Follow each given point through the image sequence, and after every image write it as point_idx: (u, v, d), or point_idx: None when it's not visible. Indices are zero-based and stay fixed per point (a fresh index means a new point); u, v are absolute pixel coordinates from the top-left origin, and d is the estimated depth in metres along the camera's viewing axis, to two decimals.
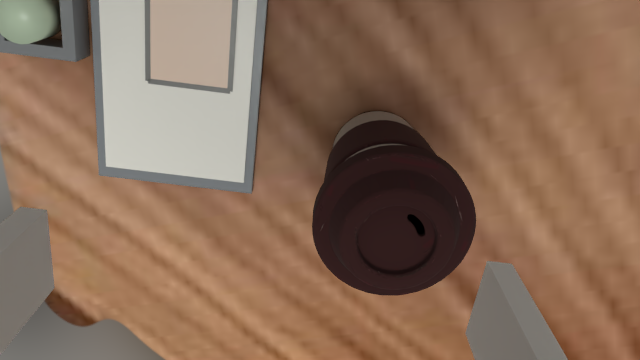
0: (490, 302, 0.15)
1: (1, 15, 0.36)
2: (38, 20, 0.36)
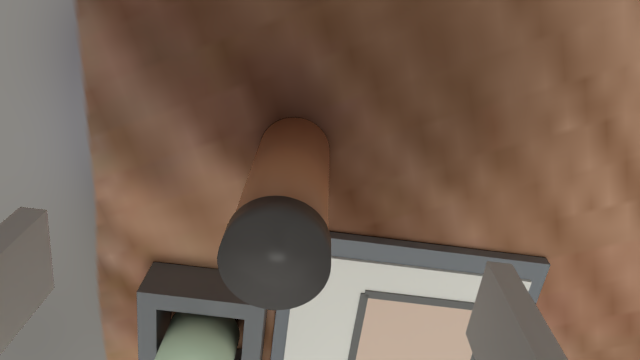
0: (490, 302, 0.15)
1: None
2: None
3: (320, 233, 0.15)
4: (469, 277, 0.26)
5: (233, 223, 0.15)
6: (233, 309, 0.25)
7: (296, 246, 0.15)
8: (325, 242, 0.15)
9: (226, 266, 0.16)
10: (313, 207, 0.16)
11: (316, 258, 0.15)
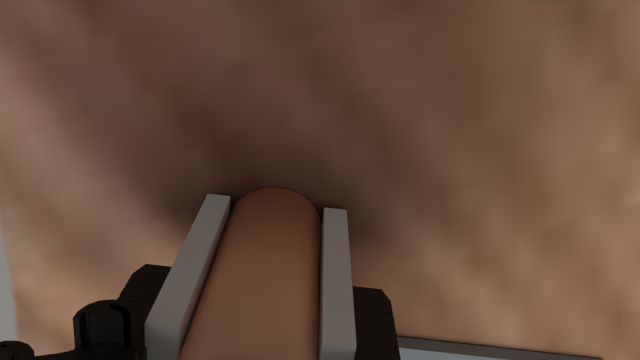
0: (321, 242, 0.17)
1: None
2: None
3: None
4: None
5: None
6: None
7: None
8: None
9: None
10: None
11: None
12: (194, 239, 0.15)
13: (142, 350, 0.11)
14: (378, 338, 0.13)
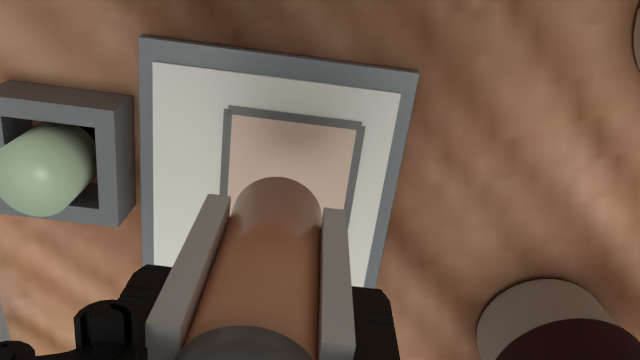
0: (320, 242, 0.17)
1: (7, 177, 0.23)
2: (64, 185, 0.23)
3: None
4: (336, 89, 0.25)
5: None
6: (81, 114, 0.23)
7: None
8: None
9: None
10: (296, 338, 0.11)
11: None
12: (195, 239, 0.15)
13: (143, 350, 0.11)
14: (377, 338, 0.13)
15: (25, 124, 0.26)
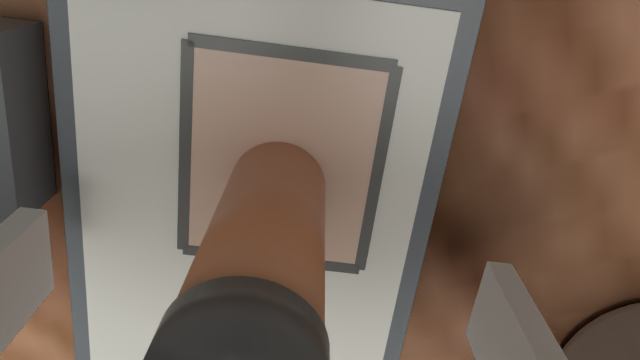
0: (490, 302, 0.15)
1: None
2: None
3: (305, 341, 0.09)
4: (357, 5, 0.16)
5: (159, 332, 0.09)
6: None
7: None
8: (316, 354, 0.09)
9: None
10: (295, 288, 0.10)
11: None
12: None
13: None
14: None
15: None
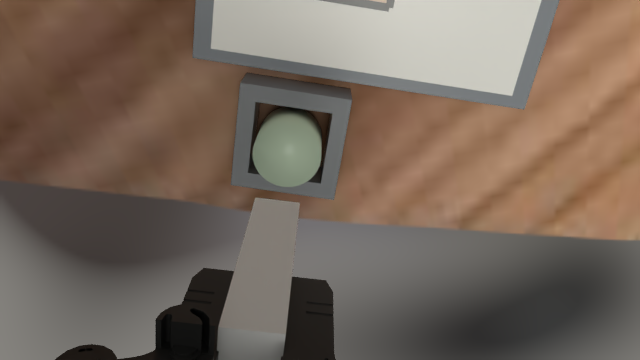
0: None
1: (284, 174, 0.28)
2: (291, 130, 0.27)
3: None
4: None
5: None
6: (244, 110, 0.28)
7: None
8: None
9: None
10: None
11: None
12: (251, 243, 0.15)
13: (215, 353, 0.12)
14: (314, 328, 0.13)
15: None
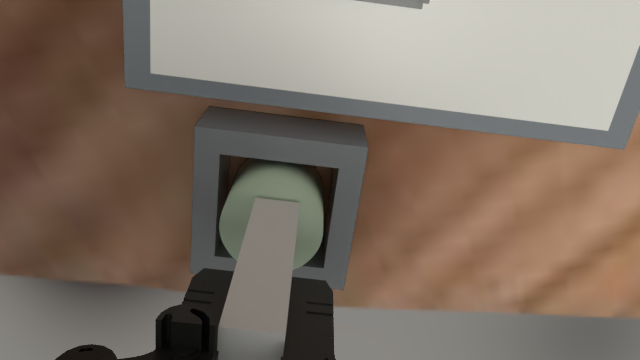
0: None
1: None
2: (276, 194, 0.18)
3: None
4: None
5: None
6: (203, 166, 0.18)
7: None
8: None
9: None
10: None
11: None
12: (251, 243, 0.15)
13: (215, 353, 0.12)
14: (314, 327, 0.13)
15: None
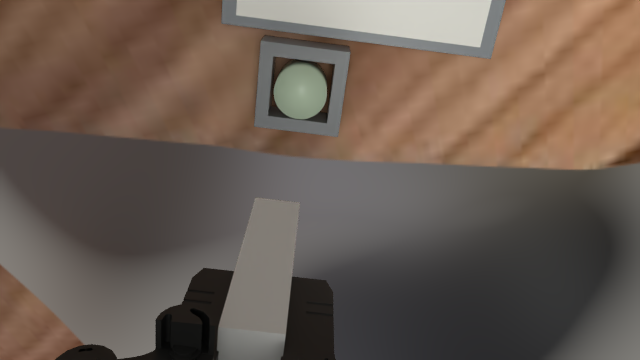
0: None
1: (298, 108, 0.36)
2: (303, 73, 0.35)
3: None
4: None
5: None
6: (264, 63, 0.35)
7: None
8: None
9: None
10: None
11: None
12: (251, 243, 0.15)
13: (215, 353, 0.12)
14: (314, 328, 0.13)
15: None
